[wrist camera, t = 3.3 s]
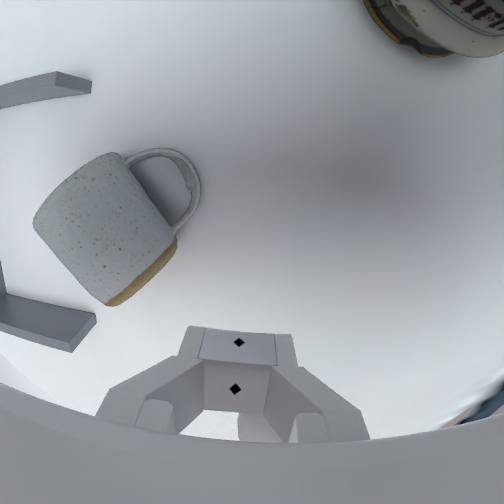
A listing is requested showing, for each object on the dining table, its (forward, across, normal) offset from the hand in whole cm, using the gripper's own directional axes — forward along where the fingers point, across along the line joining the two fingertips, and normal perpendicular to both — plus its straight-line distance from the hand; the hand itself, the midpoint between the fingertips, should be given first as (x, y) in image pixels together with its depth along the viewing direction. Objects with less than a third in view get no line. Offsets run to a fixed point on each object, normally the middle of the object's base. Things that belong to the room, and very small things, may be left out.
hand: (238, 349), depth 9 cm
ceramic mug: (+15, +8, -1) cm, 18 cm away
